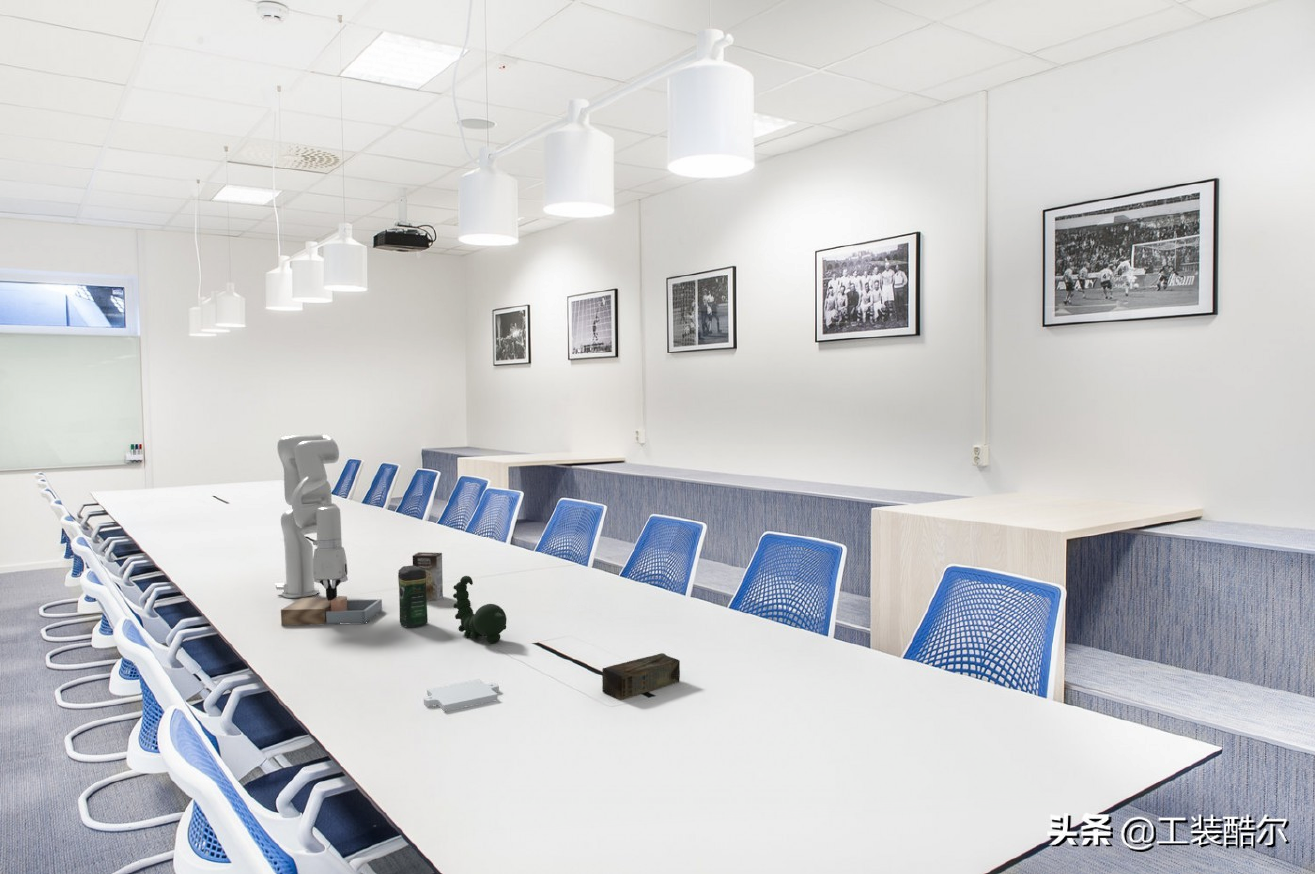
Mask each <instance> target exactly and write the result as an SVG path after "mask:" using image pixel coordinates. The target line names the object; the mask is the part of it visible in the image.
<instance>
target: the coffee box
mask: <svg viewBox="0 0 1315 874" xmlns="http://www.w3.org/2000/svg"><path fill="white" fill-rule="evenodd" d="M412 565H415V566H416V567H419V568H422V569H424V570H425V571H426V594H427V601H439V600H440V599H441V598H443V596H444V586H443V583H444V582H443V581H444V579H443V553H442V552H426V551H425V552H417V553H415V554H413V555H412Z"/></svg>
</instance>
